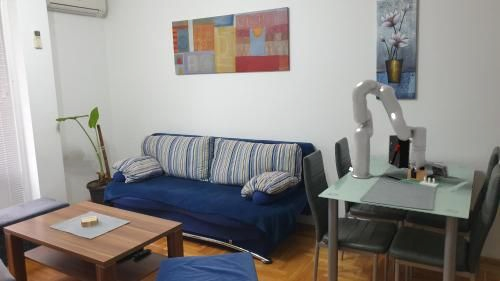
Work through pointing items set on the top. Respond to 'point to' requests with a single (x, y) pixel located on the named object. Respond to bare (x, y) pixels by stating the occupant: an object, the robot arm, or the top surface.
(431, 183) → the pin header board
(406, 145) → the electrical component
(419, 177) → the plug housing
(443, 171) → the electrical switch
